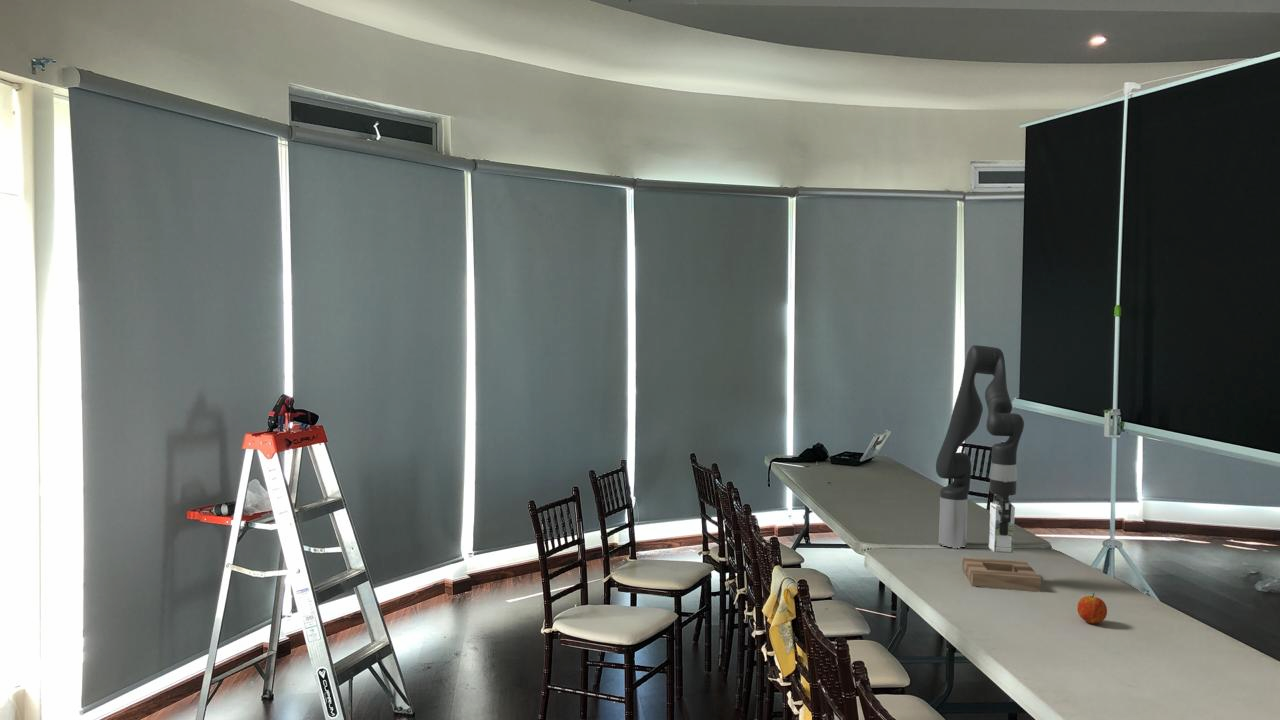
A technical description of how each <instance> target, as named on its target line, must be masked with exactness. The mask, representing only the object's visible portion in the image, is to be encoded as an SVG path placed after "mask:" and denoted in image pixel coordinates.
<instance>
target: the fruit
mask: <svg viewBox="0 0 1280 720" xmlns="http://www.w3.org/2000/svg"><path fill="white" fill-rule="evenodd" d="M1077 603H1078V604H1077V606H1076V607H1077V608H1076V609H1077V610H1076V611H1077V614H1078V616H1079V617H1080V618H1081V619H1082V620H1083V621H1085V622H1087V624H1091V625H1097V624H1100V623H1101V622H1103V621H1104V620H1105V619H1106V618H1107V615H1108V609H1107V608H1108V607H1107V605H1106V603H1105V601H1104V600H1103V599H1101V598H1100V597H1098V596H1095V592H1093V593H1092V595H1085V596H1083V597H1081V598H1080V600H1079V601H1078V602H1077Z"/></svg>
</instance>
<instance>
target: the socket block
mask: <svg viewBox="0 0 1280 720" xmlns="http://www.w3.org/2000/svg"><path fill="white" fill-rule="evenodd" d="M961 561H962V562H961V564H962V566H961V569H963V570H962V572H963V571H964V572H963V574H964V573H965V574H966V575H965V574H964V575H965V577H966V576H967V577H966V579H967V578H968V579H969V580H968V579H967V580H968V582H969V581H970V582H969V584H970V583H971V584H970V585H971V587H972V586H981V587H980V588H985V587H990V588H989V589H999V588H1000V589H999V590H1001V589H1002V590H1012V589H1016V590H1015V591H1030V592H1039V591H1040V592H1041V589H1042V588H1041V587H1042V585H1041V584H1042V583H1041V581H1042V578H1041V576H1040V575H1039V574H1038V573H1037V572H1036V571H1035V570H1034V569H1033V568H1032V566H1031V565H1030V564H1029V563H1028V562H1027V561H1022V560H1010V559H1009V560H1007V559H1006V560H1005V559H993V558H980V557H979V558H977V557H962V560H961Z"/></svg>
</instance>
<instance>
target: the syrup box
mask: <svg viewBox="0 0 1280 720" xmlns="http://www.w3.org/2000/svg"><path fill="white" fill-rule="evenodd" d="M1015 510H1016V508H1015V506H1014V505H1013V504H1012V506H1011V521H1010V522H1009V523H1008V535H1007V536H1005V535H1000V515H999V514H998V511H1001V512H1002V508H1001V507H1000V506H998V505H997V504H996V503H994V501H993V502H990V505H989V525H988V526H989V527H988V530H989V531H988V548H989V549H990V551H992V552H993V553H1006V554H1007V553H1008V554H1012V553H1014V539H1015V538H1014V535H1015V534H1014V533H1015V513H1016V511H1015ZM1004 518H1007V516H1006V515H1004Z"/></svg>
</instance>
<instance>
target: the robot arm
mask: <svg viewBox="0 0 1280 720" xmlns="http://www.w3.org/2000/svg"><path fill="white" fill-rule="evenodd" d="M977 374H981V375H982V374H983V375H989V376H990V375H992V376H993V379H992V380H991V381H990V382H989V384H988V385H987V387H986V389H985V391H984V398H985V403H986V406H987V414H988V415H987V418H986V431H987V432H988V433H989V434H990V435H991V436H994V437H1008V438H1007V440H1006V441H1004V442H999V443H995V444H993V445H992V447H991V462H990V464H991V465H990V470H989V492H990V493H991V494H993V503H996V504H997V505H998V506H1000V507H1001V508H1002V512H1001V511H998V514H999V515H1000V535H1005V536H1007V535H1008V523H1009V522H1010V521H1011V506H1012V505H1013V504H1012V502H1011V500H1010V499H1009V497H1010V496H1015V495H1016V494H1017V481H1018V480H1017V479H1018V477H1017V476H1018V472H1017V471H1018V470H1017V452H1018V447H1019V444H1020V443H1019V442H1020V440H1021V438H1022V437H1021V436H1022V434H1023V431H1024V427H1025V420H1024V418H1023V417H1022V415H1020V414H1019V413H1013V412H1012V410H1013V405H1012V401H1011V398H1010V394H1009V391H1008V387H1007V386H1008V385H1007V371H1006V361H1005V356H1004V352H1003V350H1001V349H1000V348H998V347H996V346H994V347H993V346H986V345H978V344H977V345H976V344H975V345H971V346H970V348H969V350H968V351H967V354H966V358H965V362H964V368H963V373H962V379H961V383H960V387H959V390H958V394H957V397H956V398H955V399H956V400H955V402H954V407H953V409H952V414H951V417H950V421H949V425H948V428H947V431H946V435H945V438H944V441H943V442H942V445H941V448H940V450H939V451H938V455H937V458H936V463H935V472H936V474H937V476H938V477H939V478H940V479H944V480H947V479H949V480H951V479H953V480H952V482H951V483H950V484H948V485H946V486H944V487H942V488H940V491H939V496H940V497H939V519H938V521H939V523H938V524H939V525H938V526H939V527H938V544H939V543H941V544H944V545H946V546H950V547H955V548H954V549H957V548H958V547H963V546H965V545H966V546H967V530H968V529H967V528H968V524H967V523H968V502H969V501H968V496H969V492H970V488H971V487H970V485H971V484H970V483H971V474H972V462H971V459H970V456H969V455H968V453H965V452H958V449H959V448H960V447H961V445H962V444H963V443H964V442H965V441H966V440H967V439H968V438H969V437H970V436H972V435H973V433H974V432H975V431H976V430H977V428H978V427H979V425H980V421H981V418H982V414H983V410H984V409H983V408H984V406H983V403H982V401H981V398H980V396H979V394H978V392H977V391H978V390H977V388H976V385H975V378H976V375H977ZM1011 412H1012V413H1011ZM1004 515H1006V516H1007V518H1004ZM958 549H959V548H958Z"/></svg>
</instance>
